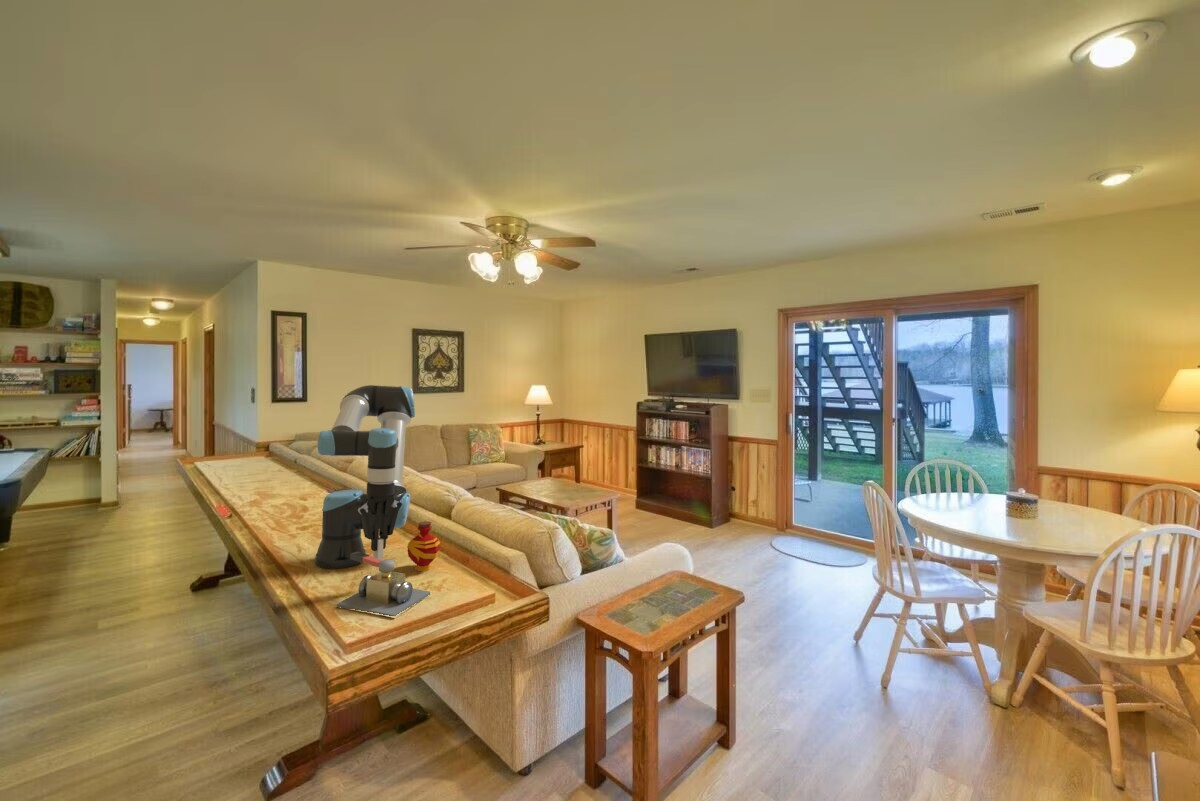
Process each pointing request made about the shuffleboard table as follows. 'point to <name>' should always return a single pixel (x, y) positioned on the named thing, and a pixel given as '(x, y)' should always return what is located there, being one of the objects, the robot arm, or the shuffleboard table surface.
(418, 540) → the potion bottle
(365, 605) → the slate board
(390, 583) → the valve body
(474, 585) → the shuffleboard table surface
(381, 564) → the lever
